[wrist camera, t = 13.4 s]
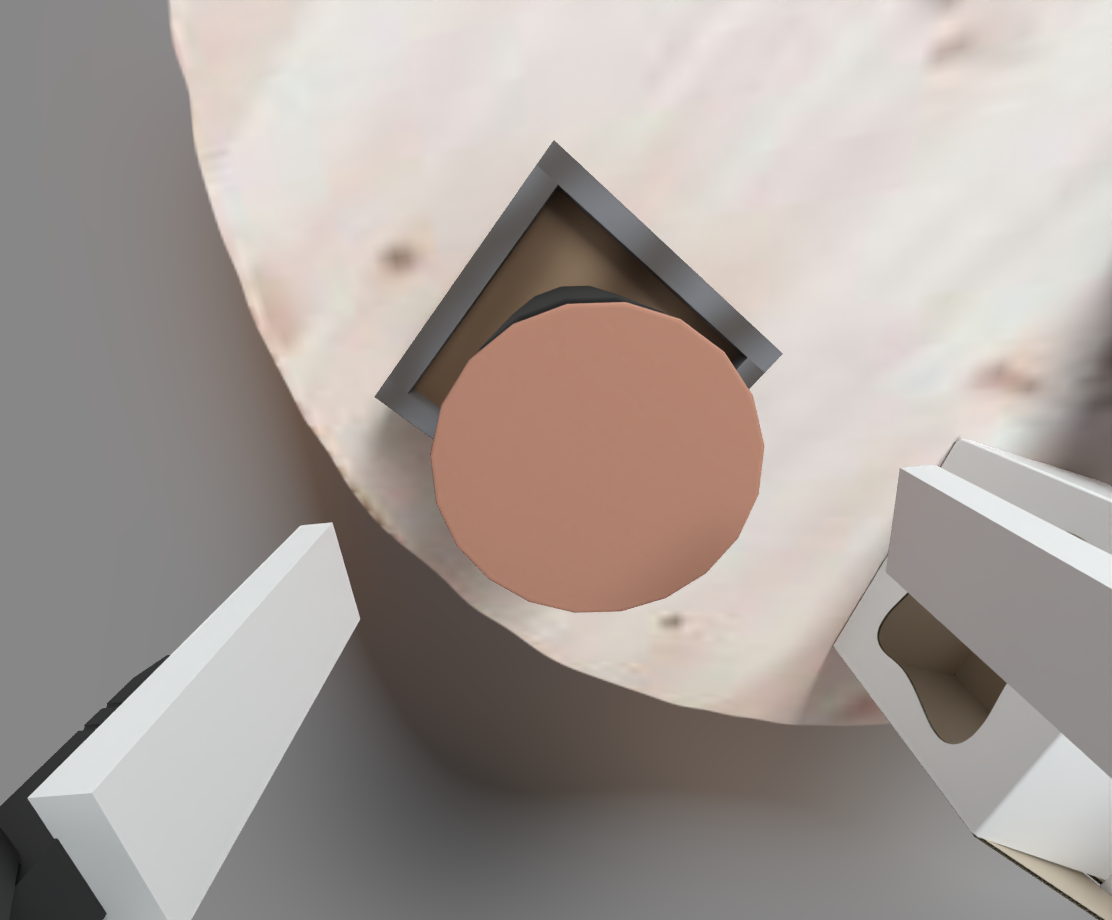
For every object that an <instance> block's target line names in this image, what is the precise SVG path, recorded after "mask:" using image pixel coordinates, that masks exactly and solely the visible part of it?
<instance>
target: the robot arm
mask: <svg viewBox="0 0 1112 920" xmlns="http://www.w3.org/2000/svg"><path fill="white" fill-rule="evenodd" d="M886 573H887V574H888V575H889V576H890V577H891V578H893V579H894V580H895V581H896V582H897V583H898V584H899V585H900V586H901V587H902V588H903V589H905V590H906V591H907V592H908V593H909V594H910V595H911V596H912V597H913V598H914V599H916V600H917V601H918V602H919V603H920V604H921V605H922V606H923V607H924V608H925V609H926V610H928V611H929V612H930V613H931V614H932V615H933V616H934V617H935V618H936V619H937V620H938V621H940V622H941V623H942V624H943V625H944V626H945V627H946V628H947V629H948V630H949V631H951V632H952V633H953V634H954V635H955V636H956V637H957V638H958V639H959V640H960V641H961V642H963V643H964V644H965V645H966V646H967V647H968V648H969V649H970V650H971V651H972V652H974V653H975V654H976V655H977V656H978V657H979V658H980V659H981V660H982V661H983V662H984V663H986V664H987V665H988V666H989V667H990V668H991V669H992V670H993V671H994V672H995V673H996V674H998V675H999V676H1000V677H1001V678H1002V679H1003V680H1004V681H1005V682H1006V683H1007V684H1009V685H1010V686H1011V687H1012V688H1013V689H1014V690H1015V691H1016V692H1017V693H1018V694H1019V695H1021V696H1022V697H1023V698H1024V699H1025V700H1026V701H1027V702H1028V703H1029V704H1030V705H1031V706H1033V707H1034V708H1035V709H1036V710H1037V711H1038V712H1039V713H1040V714H1041V715H1042V716H1044V717H1045V718H1046V719H1047V720H1048V721H1049V722H1050V723H1051V724H1052V725H1053V726H1054V727H1056V728H1057V729H1058V730H1059V731H1060V732H1061V733H1062V734H1063V735H1064V736H1065V737H1066V738H1068V739H1069V740H1070V741H1071V742H1072V743H1073V744H1074V745H1075V746H1076V747H1077V748H1079V749H1080V750H1081V751H1082V752H1083V753H1084V754H1085V755H1086V756H1087V757H1088V758H1089V759H1091V760H1092V761H1093V762H1094V763H1095V764H1096V765H1097V766H1098V767H1099V768H1100V769H1101V770H1103V771H1104V772H1105V773H1106V774H1107V775H1108V776H1109V777H1110V778H1111V779H1112V555H1111V554H1109V553H1107V552H1105V551H1103V550H1101V549H1099V548H1097V547H1095V546H1093V545H1091V544H1089V543H1087V542H1085V541H1083V540H1081V539H1079V538H1077V537H1076V536H1074V535H1072V534H1070V533H1068V532H1066V531H1064V530H1062V529H1060V528H1058V527H1056V526H1054V525H1052V524H1050V523H1048V522H1046V521H1044V520H1042V519H1040V518H1038V517H1036V516H1034V515H1032V514H1031V513H1029V512H1027V511H1025V510H1023V509H1021V508H1019V507H1017V506H1015V505H1013V504H1011V503H1009V502H1007V501H1005V500H1003V499H1001V498H999V497H997V496H995V495H993V494H991V493H989V492H987V491H986V490H984V489H982V488H980V487H978V486H976V485H974V484H972V483H970V482H968V481H966V480H964V479H962V478H960V477H958V476H956V475H954V474H952V473H950V472H948V471H946V470H944V469H943V468H941V467H939V466H937V465H935V464H934V465H924V466H914V467H903V468H900V472H899V479H898V486H897V494H896V501H895V508H894V515H893V522H892V530H891V537H890V544H889V551H888V559H887V566H886ZM359 620H360V617H359V613H358V610H357V606H356V603H355V600H354V596H353V592H352V589H351V585H350V582H349V579H348V575H347V572H346V568H345V565H344V561H343V558H342V554H341V551H340V548H339V544H338V540H337V537H336V534H335V530H334V527H333V523H322V524H313V525H302V526H300V527H299V528H298V529H297V530H296V531H295V532H294V533H293V534H292V535H291V536H290V537H289V538H288V539H287V540H286V541H285V542H284V543H283V544H282V545H281V546H280V547H279V548H278V549H277V550H276V551H275V552H274V553H273V554H272V555H271V556H270V557H269V558H268V559H267V560H266V561H265V562H264V563H263V564H262V565H261V566H260V567H259V568H258V569H257V570H256V571H255V572H254V573H253V574H252V575H251V576H250V577H249V578H248V579H247V580H246V581H245V582H244V583H243V584H242V585H241V586H240V587H239V588H238V589H237V590H236V591H235V592H234V593H233V594H232V595H231V596H230V597H229V598H228V599H227V600H225V602H224V603H223V604H221V605H220V607H218V609H216V611H214V613H212V614H211V615H210V616H209V617H208V618H207V620H206V621H205V622H203V624H201V626H199V627H198V628H197V630H195V631H194V632H193V633H192V634H191V635H190V636H189V638H187V640H185V641H184V642H183V643H182V644H181V645H180V647H178V648H177V649H176V650H175V651H174V652H173V653H172V654H171V655H167V656H165V657H164V658H162V659H161V660H159V661H158V662H156V663H155V664H153V665H152V666H151V667H149V668H148V669H146V670H145V671H143V672H142V673H140V674H139V675H137V676H136V677H134V678H133V679H132V680H131V681H130V682H129V683H128V684H127V685H126V686H125V687H124V688H123V689H122V690H120V691H119V692H118V693H117V694H116V696H114V697H113V698H112V699H111V700H110V701H109V702H108V703H107V707H106V708H103V709H101V710H100V711H99V712H98V713H97V714H96V715H95V716H93V718H92V719H90V720H89V721H88V722H87V723H86V724H85V728H84V730H83V731H78V732H77V733H76V734H75V735H74V736H73V737H72V738H71V739H70V740H69V741H68V742H67V743H66V744H64V745H63V746H62V747H61V748H60V749H59V750H58V751H57V752H56V753H55V754H54V755H53V756H52V757H51V758H50V759H49V760H48V761H47V762H46V763H45V764H44V765H43V766H42V767H41V768H40V769H38V770H37V772H35V773H34V774H33V775H32V776H31V777H30V778H29V779H28V780H27V781H26V782H25V783H24V784H23V785H22V786H21V787H20V788H19V789H18V790H17V791H16V792H15V793H14V794H13V795H11V796H10V797H9V798H8V799H7V800H6V801H5V802H4V803H3V804H2V805H1V806H0V920H103V919H104V917H105V916H106V918H107V919H108V920H191V919H192V917H193V915H194V914H195V912H196V910H197V908H198V906H199V905H200V903H201V901H202V899H203V898H204V896H205V894H206V892H207V890H208V889H209V887H210V885H211V883H212V882H213V880H214V878H215V876H216V874H217V873H218V871H219V869H220V867H221V866H222V864H223V862H224V860H225V858H226V857H227V855H228V853H229V851H230V850H231V848H232V846H233V844H234V842H235V841H236V839H237V837H238V835H239V833H240V832H241V830H242V828H243V826H244V825H245V823H246V821H247V819H248V818H249V815H250V814H251V812H252V810H253V809H254V807H255V805H256V803H257V802H258V800H259V798H260V796H261V794H262V793H263V791H264V789H265V787H266V786H267V784H268V782H269V780H270V778H271V777H272V775H273V773H274V771H275V770H276V768H277V766H278V764H279V762H280V761H281V759H282V757H283V755H284V754H285V752H286V750H287V748H288V746H289V745H290V743H291V741H292V739H293V738H294V736H295V734H296V732H297V730H298V729H299V727H300V725H301V723H302V722H303V720H304V718H305V716H306V714H307V713H308V711H309V709H310V707H311V706H312V704H313V702H314V700H315V698H316V697H317V695H318V693H319V691H320V690H321V688H322V686H323V684H324V682H325V681H326V679H327V677H328V675H329V674H330V672H331V670H332V668H333V666H334V665H335V663H336V661H337V659H338V658H339V656H340V654H341V652H342V650H343V649H344V647H345V645H346V643H347V642H348V640H349V638H350V636H351V634H352V633H353V631H354V629H355V627H356V626H357V623H358V622H359Z"/></svg>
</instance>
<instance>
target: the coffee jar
mask: <svg viewBox="0 0 1112 920" xmlns="http://www.w3.org/2000/svg"><path fill="white" fill-rule="evenodd" d="M763 452H764V442H763V438H762V434H761V429H760V425H759V420H758V416H757V412H756V407H755V403H754V398H753V395H752V394H751V392H750V391H749V389H748V388H747V386H746V384H745V383H744V381H743V380H742V378H741V377H740V375H739V374H738V372H737V371H736V369H735V368H734V366H733V364H732V363H731V361H730V360H729V358H728V357H727V355H726V354H725V352H724V351H722V350H721V349H720V348H718V347H717V346H716V345H714V344H713V343H712V342H710V341H709V340H708V339H706V338H705V337H704V336H702V335H701V334H700V333H698V332H697V331H696V330H694V329H693V328H692V327H690V326H689V325H688V324H686V323H685V322H684V321H682V320H681V319H679V318H676V317H672V316H669V315H666V314H665V313H664V312H662V311H660V310H657V309H654V308H652V307H649V306H646V305H644V304H641V303H639V302H636V301H633V300H631V299H628V298H625V297H623V296H620V295H617V294H615V293H611V292H608V291H605V290H602V289H598V288H595V287H592V286H561V287H558V288H556V289H553V290H550V291H548V292H545V293H542V294H540V295H537V296H534V297H533V298H532V299H531V300H529V301H528V302H527V303H526V304H525V305H523V306H522V307H521V308H520V309H518V310H517V311H516V312H515V313H514V314H512V315H511V316H510V317H509V318H508V320H507V321H506V322H505V323H504V324H503V325H502V326H501V327H500V328H499V329H498V330H497V331H496V332H495V333H494V334H493V335H492V336H491V337H490V338H489V339H488V340H487V341H486V342H485V343H484V344H483V345H482V346H481V348H480V349H479V351H478V352H477V354H476V355H474V356H473V357H472V358H471V359H469V361H468V362H467V364H466V366H465V367H464V369H463V371H462V372H461V374H460V375H459V377H458V379H457V380H456V382H455V383H454V385H453V387H452V388H451V390H450V392H449V393H448V395H447V396H446V398H445V400H444V401H443V403H442V404H441V408H440V413H439V417H438V422H437V426H436V431H435V435H434V440H433V444H432V449H431V453H430V456H431V464H432V472H433V480H434V488H435V497H436V503H437V505H438V507H439V510H440V512H441V514H442V516H443V518H444V520H445V522H446V524H447V526H448V528H449V530H450V532H451V534H452V536H453V538H454V541H455V543H456V545H457V546H458V547H459V548H460V549H461V550H462V551H463V552H464V553H465V554H466V556H467V557H468V558H469V559H470V560H471V561H472V562H473V563H474V564H475V565H476V566H477V567H478V568H479V569H480V570H481V571H482V572H483V573H484V574H485V575H486V576H487V578H488V579H490V580H492V581H493V582H495V583H497V584H499V585H501V586H502V587H504V588H506V589H508V590H509V591H511V592H513V593H515V594H516V595H518V596H520V597H522V598H524V599H525V600H527V601H529V602H533V603H537V604H541V605H545V606H549V607H553V608H557V609H562V610H566V611H570V612H614V611H623V610H627V609H630V608H634V607H637V606H640V605H644V604H647V603H650V602H654V601H657V600H661V599H664V598H667V597H668V596H670V595H671V594H673V593H675V592H676V591H678V590H679V589H681V588H683V587H684V586H686V585H688V584H689V583H691V582H692V581H694V580H696V579H697V578H699V577H701V576H702V575H704V574H705V573H707V571H708V570H709V569H710V568H711V567H712V566H713V565H714V564H715V563H716V562H717V560H718V559H719V558H720V557H721V556H722V555H723V554H724V553H725V552H726V551H727V550H728V548H729V547H730V546H731V545H732V544H733V543H734V542H735V541H736V540H737V539H738V537H739V535H740V533H741V531H742V528H743V526H744V524H745V522H746V520H747V518H748V516H749V514H750V511H751V509H752V507H753V505H754V503H755V501H756V499H757V497H758V494H759V486H760V477H761V469H762V461H763Z"/></svg>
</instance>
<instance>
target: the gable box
mask: <svg viewBox="0 0 1112 920" xmlns="http://www.w3.org/2000/svg"><path fill="white" fill-rule="evenodd" d="M941 468H943V469H944V470H946V471H948V472H950V473H952V474H954V475H956V476H958V477H960V478H962V479H964V480H966V481H968V482H970V483H972V484H974V485H976V486H978V487H980V488H982V489H984V490H986V491H987V492H989V493H991V494H993V495H995V496H997V497H999V498H1001V499H1003V500H1005V501H1007V502H1009V503H1011V504H1013V505H1015V506H1017V507H1019V508H1021V509H1023V510H1025V511H1027V512H1029V513H1031V514H1032V515H1034V516H1036V517H1038V518H1040V519H1042V520H1044V521H1046V522H1048V523H1050V524H1052V525H1054V526H1056V527H1058V528H1060V529H1062V530H1064V531H1066V532H1068V533H1070V534H1072V535H1074V536H1076V537H1077V538H1079V539H1081V540H1083V541H1085V542H1087V543H1089V544H1091V545H1093V546H1095V547H1097V548H1099V549H1101V550H1103V551H1105V552H1107V553H1109V554H1111V555H1112V485H1109V484H1106V483H1104V482H1101V481H1099V480H1096V479H1093V478H1089V477H1086V476H1083V475H1080V474H1077V473H1073V472H1070V471H1067V470H1064V469H1061V468H1057V467H1054V466H1051V465H1048V464H1045V463H1041V462H1038V461H1035V460H1032V459H1029V458H1025V457H1022V456H1019V455H1016V454H1013V453H1009V452H1006V451H1003V450H1000V449H997V448H993V447H990V446H987V445H984V444H981V443H977V442H974V441H971V440H968V439H964V438H962V439H960V440H958V441H956V443H955V445H954V446H953V448H952V450H951V451H950V453H949V455H948V456H947V458H946V460H945V461H944V463H943V465H942V466H941ZM887 559H888V556H887V557H886V559H885V561H884V562H883V564H882V566H881V567H880V569H879V571H878V572H877V574H876V576H875V577H874V579H873V581H872V582H871V584H870V586H869V587H868V589H867V591H866V592H865V594H864V595H863V597H862V599H861V600H860V602H859V604H858V605H857V607H856V609H855V610H854V612H853V614H852V615H851V617H850V619H849V620H848V622H847V624H846V625H845V627H844V629H843V630H842V632H841V634H840V635H839V637H838V639H837V640H836V642H835V644H834V645H833V646H834V648H835V649H836V651H837V652H838V653H839V655H840V656H841V658H842V659H843V660H844V662H845V663H846V664H847V666H848V667H849V668H850V670H851V671H852V672H853V674H854V675H855V676H856V678H857V679H858V680H859V682H860V683H861V684H862V686H863V687H864V689H865V690H866V691H867V693H868V694H869V695H870V697H871V698H872V699H873V701H874V702H875V703H876V705H877V706H878V707H879V709H880V710H881V711H882V713H883V714H884V715H885V717H886V718H887V720H888V721H889V722H890V724H891V725H892V726H893V727H894V729H895V730H896V732H897V733H898V734H899V735H900V737H901V738H902V740H903V741H904V742H905V744H906V745H907V746H908V748H909V749H910V751H911V752H912V753H913V755H914V756H915V757H916V759H917V760H918V761H919V763H920V764H921V765H922V767H923V768H924V769H925V771H926V772H927V773H928V775H929V776H930V777H931V779H932V780H933V782H934V783H935V784H936V785H937V787H938V788H939V789H940V791H941V792H942V794H943V795H944V796H945V797H946V799H947V800H948V802H949V803H950V804H951V806H952V807H953V809H954V810H955V811H956V813H957V814H958V815H959V817H960V818H961V819H962V821H963V822H964V823H965V825H966V826H967V827H968V829H969V830H970V831H971V833H972V834H973V835H974V837H976V838H977V839H979V840H980V841H982V842H983V843H985V844H986V845H988V846H989V847H991V848H992V849H994V850H995V851H997V852H998V853H1000V854H1001V855H1003V856H1004V857H1006V858H1007V859H1009V860H1010V861H1011V862H1013V863H1015V864H1016V865H1018V866H1019V867H1020V868H1022V869H1023V870H1025V871H1026V872H1028V873H1029V874H1031V875H1032V876H1034V877H1035V878H1037V879H1038V880H1040V881H1041V882H1043V883H1044V884H1046V885H1047V886H1049V887H1050V888H1052V889H1053V890H1055V891H1056V892H1058V893H1059V894H1061V895H1062V896H1064V897H1065V898H1067V899H1068V900H1069V901H1071V902H1073V903H1074V904H1075V905H1077V906H1078V907H1080V908H1081V909H1083V910H1084V911H1086V912H1088V913H1089V914H1090V915H1092V916H1093V917H1095V918H1096V919H1098V920H1112V779H1111V778H1110V777H1109V776H1108V775H1107V774H1106V773H1105V772H1104V771H1103V770H1101V769H1100V768H1099V767H1098V766H1097V765H1096V764H1095V763H1094V762H1093V761H1092V760H1091V759H1089V758H1088V757H1087V756H1086V755H1085V754H1084V753H1083V752H1082V751H1081V750H1080V749H1079V748H1077V747H1076V746H1075V745H1074V744H1073V743H1072V742H1071V741H1070V740H1069V739H1068V738H1066V737H1065V736H1064V735H1063V734H1062V733H1061V732H1060V731H1059V730H1058V729H1057V728H1056V727H1054V726H1053V725H1052V724H1051V723H1050V722H1049V721H1048V720H1047V719H1046V718H1045V717H1044V716H1042V715H1041V714H1040V713H1039V712H1038V711H1037V710H1036V709H1035V708H1034V707H1033V706H1031V705H1030V704H1029V703H1028V702H1027V701H1026V700H1025V699H1024V698H1023V697H1022V696H1021V695H1019V694H1018V693H1017V692H1016V691H1015V690H1014V689H1013V688H1012V687H1011V686H1010V685H1009V684H1007V683H1006V682H1005V681H1004V680H1003V679H1002V678H1001V677H1000V676H999V675H998V674H996V673H995V672H994V671H993V670H992V669H991V668H990V667H989V666H988V665H987V664H986V663H984V662H983V661H982V660H981V659H980V658H979V657H978V656H977V655H976V654H975V653H974V652H972V651H971V650H970V649H969V648H968V647H967V646H966V645H965V644H964V643H963V642H961V641H960V640H959V639H958V638H957V637H956V636H955V635H954V634H953V633H952V632H951V631H949V630H948V629H947V628H946V627H945V626H944V625H943V624H942V623H941V622H940V621H938V620H937V619H936V618H935V617H934V616H933V615H932V614H931V613H930V612H929V611H928V610H926V609H925V608H924V607H923V606H922V605H921V604H920V603H919V602H918V601H917V600H916V599H914V598H913V597H912V596H911V595H910V594H909V593H908V592H907V591H906V590H905V589H903V588H902V587H901V586H900V585H899V584H898V583H897V582H896V581H895V580H894V579H893V578H891V577H890V576H889V575H888V574H887V573H886V566H887ZM953 675H954V676H953ZM1084 873H1086V874H1088V875H1089V876H1090V877H1092V878H1093V879H1094V880H1095V881H1097V882H1098V883H1099V884H1100V886H1099V885H1097V884H1096V883H1095V882H1094V881H1092V880H1091V879H1090V878H1089V877H1087V876H1086V875H1085V874H1084Z"/></svg>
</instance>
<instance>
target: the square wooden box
mask: <svg viewBox="0 0 1112 920" xmlns="http://www.w3.org/2000/svg"><path fill="white" fill-rule="evenodd" d="M561 286H592V287H595V288H598V289H602V290H605V291H608V292H611V293H615V294H617V295H620V296H623V297H625V298H628V299H631V300H633V301H636V302H639V303H641V304H644V305H646V306H649V307H652V308H654V309H657V310H660V311H662V312H664V313H665V314H666V315H669V316H672V317H676V318H679V319H681V320H682V321H684V322H685V323H686V324H688V325H689V326H690V327H692V328H693V329H694V330H696V331H697V332H698V333H700V334H701V335H702V336H704V337H705V338H706V339H708V340H709V341H710V342H712V343H713V344H714V345H716V346H717V347H718V348H720V349H721V350H722V351H724V352H725V354H726V355H727V357H728V358H729V360H730V361H731V363H732V364H733V366H734V368H735V369H736V371H737V372H738V374H739V375H740V377H741V378H742V380H743V381H744V383H745V384H746V386H747V388H748V389H750V388H751V387H752V385H753V384H754V383H755V382H756V381H757V380H758V379H759V378H760V377H761V376H762V375H763V374H764V373H765V372H766V371H767V370H768V369H769V368H770V367H771V366H772V364H773V363H774V362H775V361H776V360H777V359H778V358H779V357H780V356H781V355H782V353H781V352H780V351H779V350H778V349H777V348H776V347H775V346H774V345H773V344H772V343H771V342H770V341H768V340H767V339H766V338H765V337H764V336H763V335H762V334H761V333H760V332H759V331H758V330H757V329H756V328H755V327H753V326H752V325H751V324H750V323H749V322H748V321H747V320H746V319H745V318H744V317H743V316H742V315H741V314H740V313H739V312H737V311H736V310H735V309H734V308H733V307H732V306H731V305H730V304H729V303H728V302H727V301H726V300H725V299H724V298H722V297H721V296H720V295H719V294H718V293H717V292H716V291H715V290H714V289H713V288H712V287H711V286H710V285H709V284H707V283H706V282H705V281H704V280H703V279H702V278H701V277H700V276H699V275H698V274H697V273H696V272H695V271H694V270H692V269H691V268H690V267H689V266H688V265H687V264H686V263H685V262H684V261H683V260H682V259H681V258H680V257H679V256H677V255H676V254H675V253H674V252H673V251H672V250H671V249H670V248H669V247H668V246H667V245H666V244H665V243H664V242H662V241H661V240H660V239H659V238H658V237H657V236H656V235H655V234H654V233H653V232H652V231H651V230H650V229H649V228H647V227H646V226H645V225H644V224H643V223H642V222H641V221H640V220H639V219H638V218H637V217H636V216H635V215H634V214H632V213H631V212H630V211H629V210H628V209H627V208H626V207H625V206H624V205H623V204H622V203H621V202H620V201H619V200H617V199H616V198H615V197H614V196H613V195H612V194H611V193H610V192H609V191H608V190H607V189H606V188H605V187H604V186H603V185H601V184H600V183H599V182H598V181H597V180H596V179H595V178H594V177H593V176H592V175H591V174H590V173H589V172H588V171H586V170H585V169H584V168H583V167H582V166H581V165H580V164H579V163H578V162H577V161H576V160H575V159H574V158H573V157H571V156H570V155H569V154H568V153H567V152H566V151H565V150H564V149H563V148H562V147H561V146H560V145H559V144H558V143H556V142H555V141H553V142H552V144H551V145H550V146H549V148H548V149H547V151H546V152H545V154H544V155H543V156H542V158H541V159H540V161H539V162H538V164H537V165H536V166H535V168H534V169H533V171H532V172H531V174H530V175H529V176H528V178H527V179H526V181H525V182H524V184H523V185H522V187H521V188H520V189H519V191H518V192H517V194H516V195H515V197H514V198H513V199H512V201H511V202H510V204H509V205H508V207H507V208H506V209H505V211H504V212H503V214H502V215H501V217H500V218H499V219H498V221H497V222H496V224H495V225H494V227H493V228H492V229H491V231H490V232H489V234H488V235H487V237H486V238H485V239H484V241H483V242H482V244H481V245H480V247H479V248H478V250H477V251H476V252H475V254H474V255H473V257H472V258H471V260H470V261H469V262H468V264H467V265H466V267H465V268H464V270H463V271H462V272H461V274H460V275H459V277H458V278H457V280H456V281H455V282H454V284H453V285H452V287H451V288H450V290H449V291H448V292H447V294H446V295H445V297H444V298H443V300H442V301H441V302H440V304H439V305H438V307H437V308H436V310H435V311H434V313H433V314H432V315H431V317H430V318H429V320H428V321H427V323H426V324H425V325H424V327H423V328H422V330H421V331H420V333H419V334H418V335H417V337H416V338H415V340H414V341H413V343H412V344H411V345H410V347H409V348H408V350H407V351H406V353H405V354H404V355H403V357H402V358H401V360H400V361H399V363H398V364H397V365H396V367H395V368H394V370H393V371H392V373H391V374H390V376H389V377H388V378H387V380H386V381H385V383H384V384H383V386H382V387H381V388H380V390H379V391H378V393H377V394H376V396H375V398H377V399H378V400H379V401H381V402H382V403H384V404H385V405H386V406H388V407H389V408H391V409H392V410H393V411H395V412H396V413H398V414H399V415H400V416H402V417H403V418H404V419H406V420H407V421H409V422H410V423H411V424H413V425H414V426H416V427H417V428H418V429H420V430H421V431H423V432H424V433H425V434H427V435H428V436H429V437H431V438H432V439H434V435H435V431H436V426H437V422H438V417H439V413H440V408H441V404H442V403H443V401H444V400H445V398H446V396H447V395H448V393H449V392H450V390H451V388H452V387H453V385H454V383H455V382H456V380H457V379H458V377H459V375H460V374H461V372H462V371H463V369H464V367H465V366H466V364H467V362H468V361H469V359H471V358H472V357H473V356H474V355H476V354H477V352H478V351H479V349H480V348H481V346H482V345H483V344H484V343H485V342H486V341H487V340H488V339H489V338H490V337H491V336H492V335H493V334H494V333H495V332H496V331H497V330H498V329H499V328H500V327H501V326H502V325H503V324H504V323H505V322H506V321H507V320H508V318H509V317H510V316H511V315H512V314H514V313H515V312H516V311H517V310H518V309H520V308H521V307H522V306H523V305H525V304H526V303H527V302H528V301H529V300H531V299H532V298H533V297H534V296H537V295H540V294H542V293H545V292H548V291H550V290H553V289H556V288H558V287H561Z"/></svg>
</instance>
